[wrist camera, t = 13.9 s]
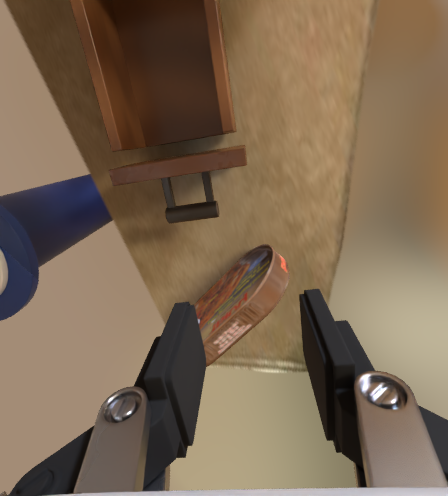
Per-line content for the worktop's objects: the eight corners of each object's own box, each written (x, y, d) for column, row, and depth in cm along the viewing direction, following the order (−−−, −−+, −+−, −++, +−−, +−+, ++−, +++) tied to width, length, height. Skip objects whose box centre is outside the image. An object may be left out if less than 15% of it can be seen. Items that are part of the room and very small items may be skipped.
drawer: (251, 201, 28) (253, 220, 22) (152, 215, 29) (127, 236, 23) (220, -56, 21) (209, -135, 15) (92, -24, 22) (34, -85, 16)
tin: (267, 232, 30) (274, 266, 22) (287, 251, 31) (302, 291, 23) (179, 318, 35) (160, 371, 27) (198, 333, 35) (185, 389, 28)
